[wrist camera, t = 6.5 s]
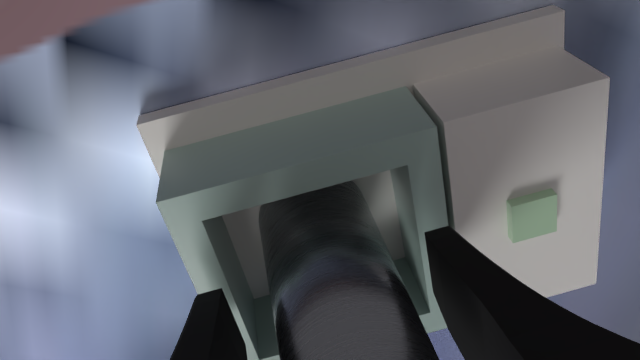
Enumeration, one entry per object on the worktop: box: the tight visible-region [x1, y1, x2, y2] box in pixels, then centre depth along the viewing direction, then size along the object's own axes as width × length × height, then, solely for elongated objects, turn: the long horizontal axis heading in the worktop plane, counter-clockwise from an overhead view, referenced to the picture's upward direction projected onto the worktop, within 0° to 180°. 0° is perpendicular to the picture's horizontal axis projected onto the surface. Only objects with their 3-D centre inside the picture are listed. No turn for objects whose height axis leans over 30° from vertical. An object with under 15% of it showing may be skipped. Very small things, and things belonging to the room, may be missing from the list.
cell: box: [258, 180, 439, 360], centre depth 14 cm, size 3×3×8 cm
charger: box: [137, 5, 610, 360], centre depth 16 cm, size 11×8×3 cm
